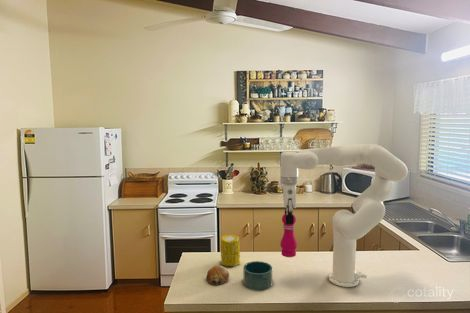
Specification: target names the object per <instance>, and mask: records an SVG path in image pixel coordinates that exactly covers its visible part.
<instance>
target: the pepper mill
mask: <svg viewBox="0 0 470 313" xmlns="http://www.w3.org/2000/svg"><path fill="white" fill-rule="evenodd" d="M281 222H282V228H283V235H282V238H281V239H280V245H279V246H280V249H281V255H282V256H283V257H285V258H294V257H296V256H297V250H296V249H297V248H298V242H297V239H296V236H295V232H294V230H295V228H296V225H295V224H296V223H297V218H296V215H294V223H293V224H286V214H285V213H284V214H283V215H282V217H281Z"/></svg>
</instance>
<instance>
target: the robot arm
mask: <svg viewBox="0 0 470 313" xmlns="http://www.w3.org/2000/svg"><path fill="white" fill-rule="evenodd" d="M279 158H280V161H279V162H280V163H279V164H280V171H279V173H280V174H279V176H280V177H279V178H280V180H279V182H280V185H282V192H283V193H282V198H283V206H284V214H286V224H293V223H294V216H295V214H294V209H297V186H298V185H299V170H300V169H301V170H313V169H315V168H316V167H318V165H326V166H334V167H344V166H354V165H363V164H364V165H365V164H368V165H371V166H373V167H374V179H373V182H372V183H371V184H370V185H369V186H368V187H366V189H365V190H364V191H362V192H361V193H360V194H359V195H358V196H356V197H355V199H354V200H353V202H352V203H351V204H352V209H353V211H354V212H355V213H353V212H351V211H350V210H348V209H340V210H337V211H336V212H335V213H334V214H333V215H332V221H331V223H332V233H333V234H332V235H333V245H332V272H331V273H329V275H328V280H329V282H331V283H332V284H334V285H336V286H339V287H343V288H353V287H356V286H358V285H359V282H360V279H367V278H368V277H367V276H368V275H367V273H363V272H362V271H356V263H357V262H356V259H357V240H360V239H361V238H363V237H365V235H367V234H368V233H369V232H370V231H371V230H372V229H374V228H375V227H376V226H378V224H380V222H382V220H383V219H384V217H385V216H386V206H385V204H384V202H385V201H386V200H387V199H388V198H389V197H390V196H391V195H392V193H393V190H394V183H399V182H402V181H404V180H405V179H406V178H407V177H408V175H409V170H408V167H407V165H406V164H405V163H404V161H402V160H400V159H399V158H398V157H397V156H395V155H394V154H393V153H392V152H390V151H389V150H387V149H386V147H383V146H382V145H380V144H376V143H366V142H365V143H357V144H349V145H339V146H338V145H337V146H328V147H317V148H308V149H301V150H299V151H298V152H296V151H283V152H281V153H280V157H279ZM294 224H295V223H294Z"/></svg>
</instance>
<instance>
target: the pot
mask: <svg viewBox="0 0 470 313" xmlns="http://www.w3.org/2000/svg"><path fill="white" fill-rule="evenodd" d="M242 270H243V271H242V272H243V274H242V275H243V280H242V282H243V285H244V287H246V288H248V289H250V290H252V291H253V290H254V291H264V290H268V289H269V288H271V287H272V286H273V266H272V265H271V264H270V263H268V262H265V261H261V260H260V261H258V260H256V261H249V262H247V263H245V264H244V265H243V268H242Z"/></svg>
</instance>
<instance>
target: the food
mask: <svg viewBox="0 0 470 313" xmlns="http://www.w3.org/2000/svg"><path fill="white" fill-rule="evenodd" d="M240 243H241V242H240V237H239V236H238V235H236V234H224V235H222V236H221V237H220V259H221V265H222V266H225V267H237V266H238V265H239V264H240V259H241V252H240V250H241V249H240V248H241V247H240V246H241V245H240Z"/></svg>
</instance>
